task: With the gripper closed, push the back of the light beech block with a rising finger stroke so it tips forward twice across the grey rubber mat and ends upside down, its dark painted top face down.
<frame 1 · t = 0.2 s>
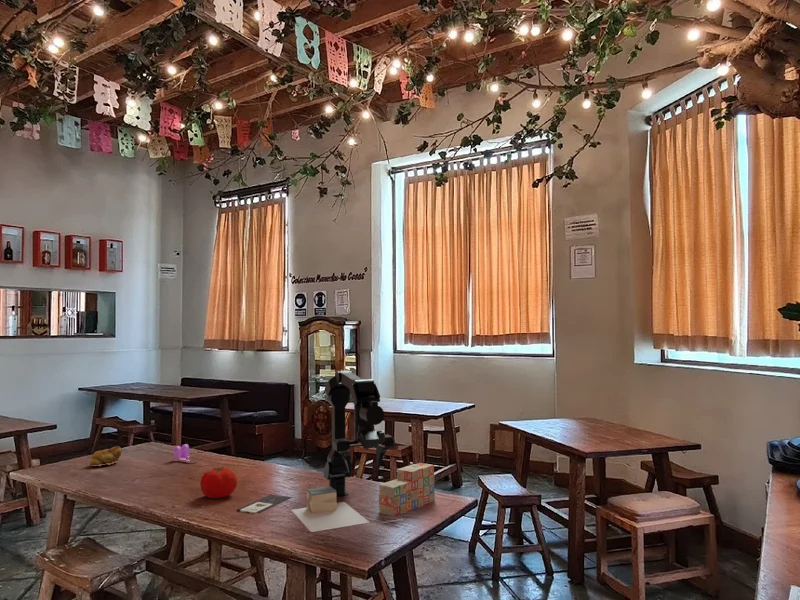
hand: (364, 470, 178), 14 cm above the table, tool pointing down, fingers open, 9 cm apart
rubber mat: (328, 517, 179), on the table
purple twin post stand: (187, 462, 259), on the table
chocolate bar: (265, 506, 193), on the table
bread roll: (103, 465, 255), on the table
beech block: (321, 509, 185), resting on rubber mat
tomato: (218, 497, 203), on the table
stack of blocks: (407, 508, 187), on the table
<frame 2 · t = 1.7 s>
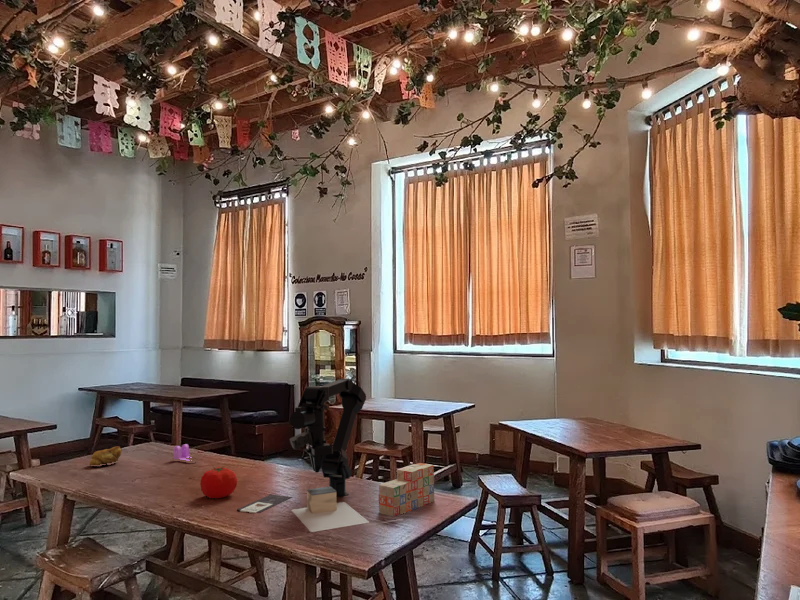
hand: (316, 471, 191), 11 cm above the table, tool pointing down, fingers closed
nothing on the table moved.
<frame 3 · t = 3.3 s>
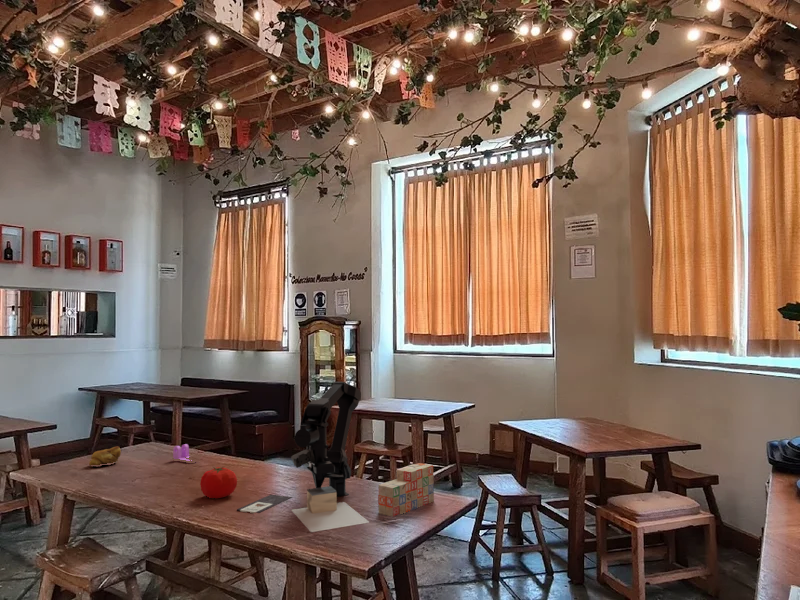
hand: (318, 489, 189), 6 cm above the table, tool pointing down, fingers closed
beech block: (321, 508, 185), resting on rubber mat, touching gripper
everything else where it was.
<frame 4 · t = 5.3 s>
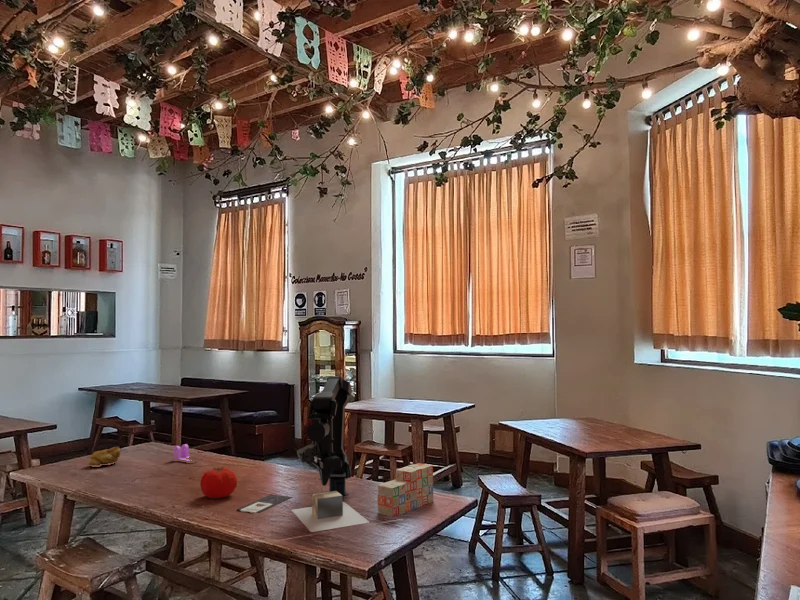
hand: (324, 485, 183), 9 cm above the table, tool pointing down, fingers closed
beech block: (324, 502, 183), point 3 cm above the table, tilted 90°, touching rubber mat
everything else where it was.
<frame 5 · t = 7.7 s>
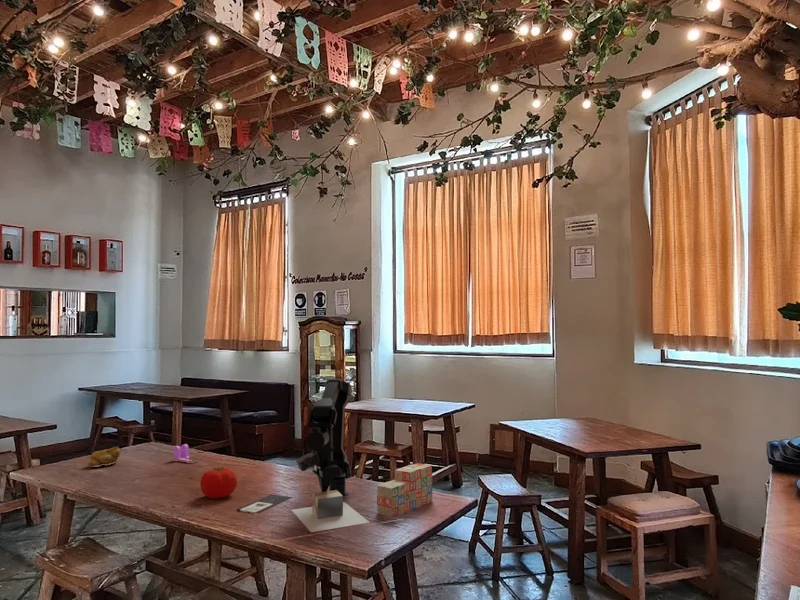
hand: (323, 493, 183), 6 cm above the table, tool pointing down, fingers closed
beech block: (324, 501, 183), point 4 cm above the table, tilted 94°, touching gripper, rubber mat
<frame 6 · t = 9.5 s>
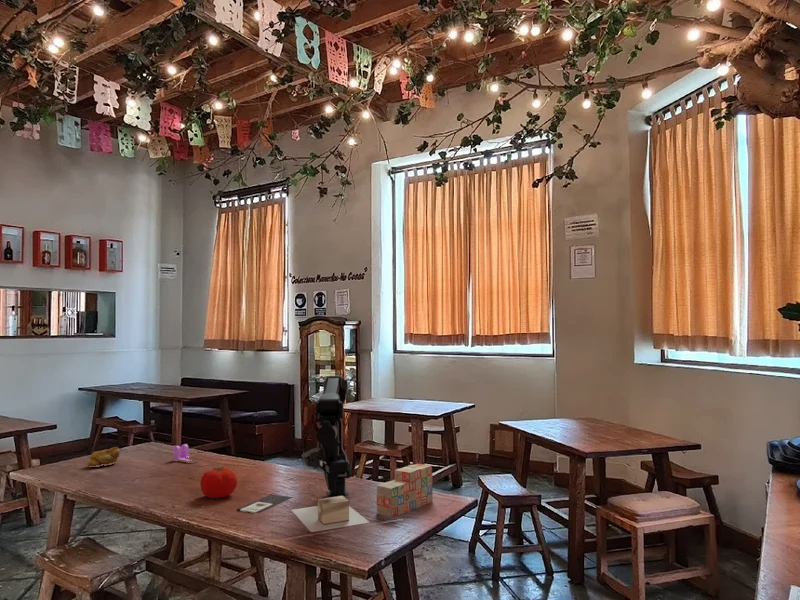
hand: (330, 489, 178), 9 cm above the table, tool pointing down, fingers closed
beech block: (333, 500, 175), point 6 cm above the table, tilted 180°, touching rubber mat
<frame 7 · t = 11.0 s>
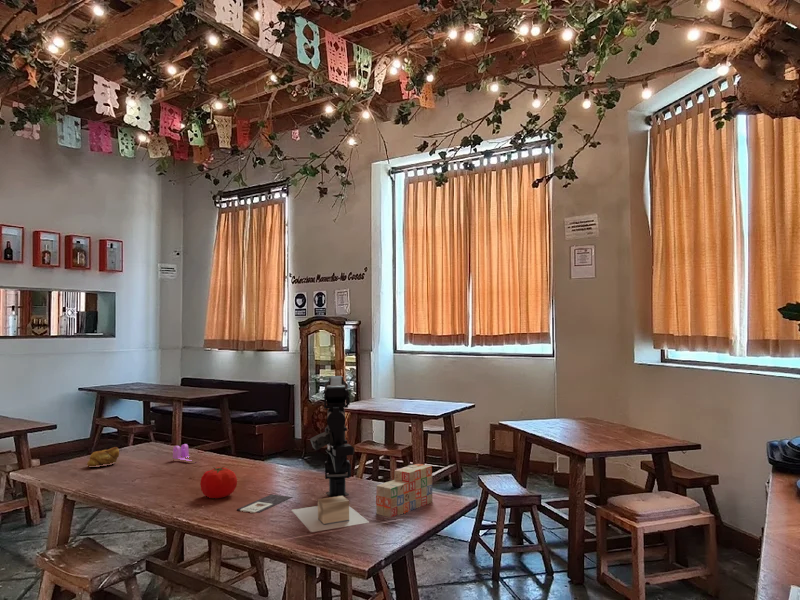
hand: (336, 472, 188), 12 cm above the table, tool pointing down, fingers closed
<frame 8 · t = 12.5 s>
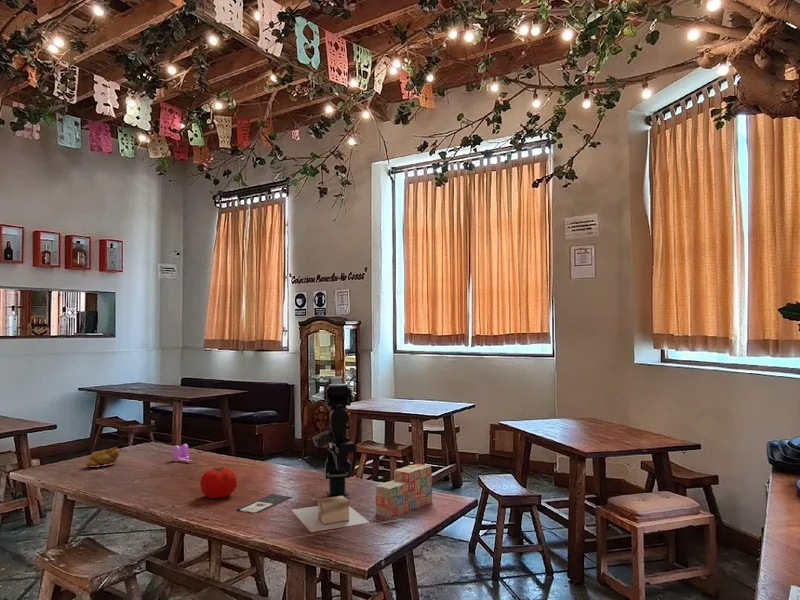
hand: (339, 470, 188), 12 cm above the table, tool pointing down, fingers closed
at the end: beech block tilted 180°; beech block inside the target area (0.5 cm from its centre), point 6.4 cm above the table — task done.
